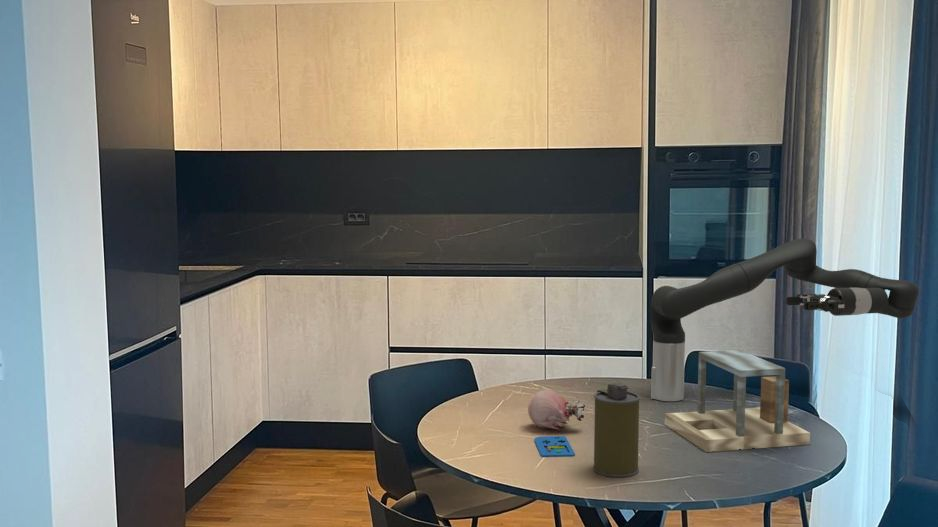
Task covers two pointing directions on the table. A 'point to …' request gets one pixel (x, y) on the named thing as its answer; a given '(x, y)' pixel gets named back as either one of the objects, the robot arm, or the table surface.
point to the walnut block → (771, 399)
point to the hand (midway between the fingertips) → (795, 303)
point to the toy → (552, 410)
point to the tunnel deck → (737, 410)
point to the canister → (616, 431)
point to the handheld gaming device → (554, 446)
